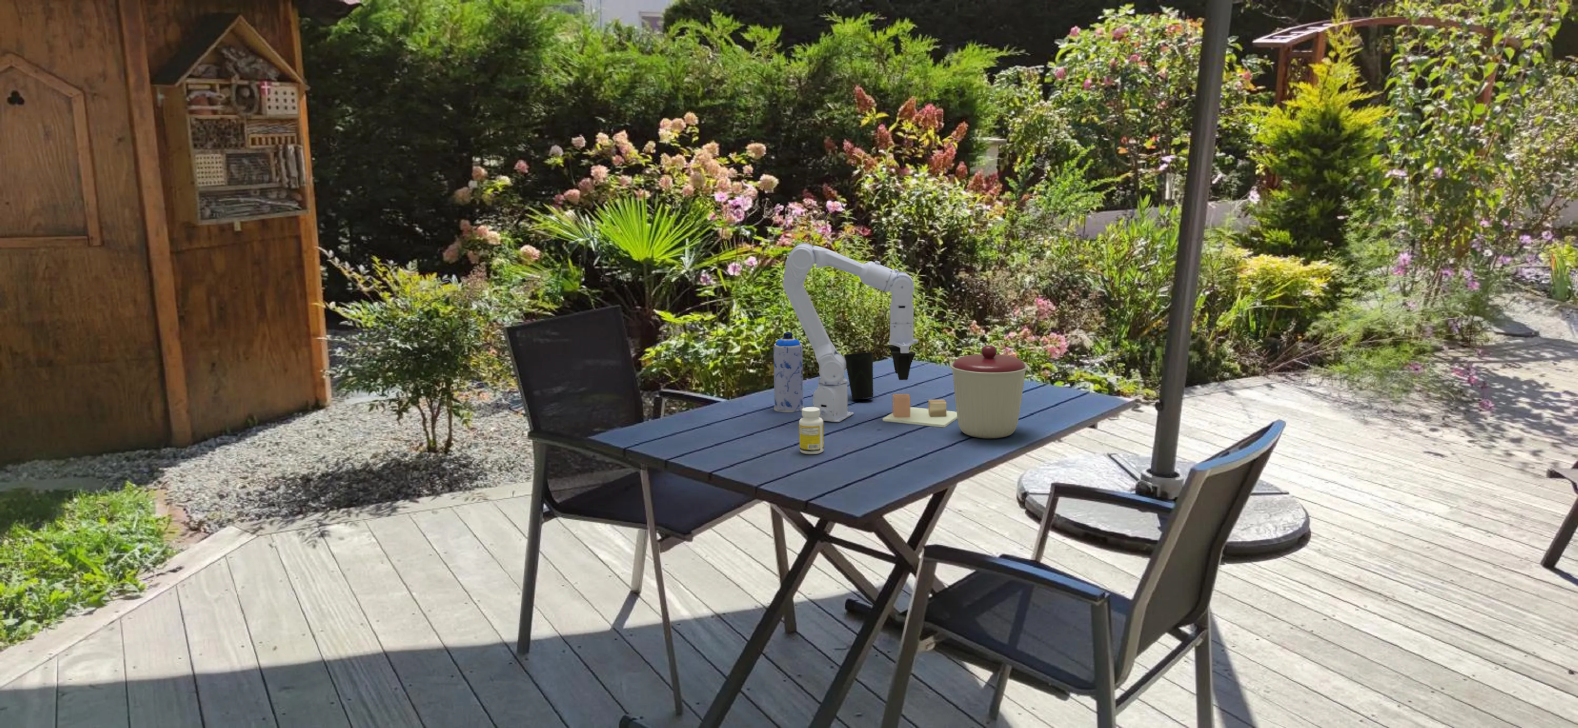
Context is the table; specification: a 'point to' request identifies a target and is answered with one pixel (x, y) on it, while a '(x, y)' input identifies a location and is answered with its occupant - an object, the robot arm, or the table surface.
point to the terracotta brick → (901, 405)
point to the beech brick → (937, 408)
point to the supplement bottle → (811, 431)
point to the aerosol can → (788, 374)
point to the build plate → (923, 418)
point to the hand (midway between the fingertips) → (901, 376)
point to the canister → (988, 393)
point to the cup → (860, 374)
